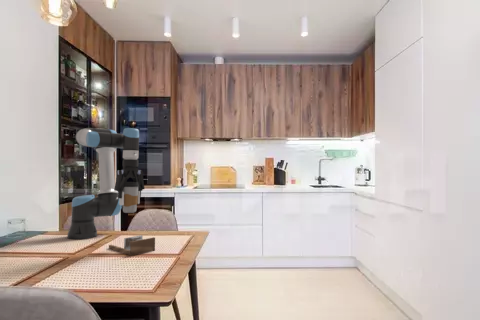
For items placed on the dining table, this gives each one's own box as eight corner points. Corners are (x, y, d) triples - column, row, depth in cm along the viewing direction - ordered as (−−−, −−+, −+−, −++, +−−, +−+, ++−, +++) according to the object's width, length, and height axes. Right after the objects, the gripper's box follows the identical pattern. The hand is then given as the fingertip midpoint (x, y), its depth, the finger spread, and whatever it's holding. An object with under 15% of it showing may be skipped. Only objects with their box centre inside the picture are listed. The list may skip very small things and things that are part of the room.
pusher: (123, 251, 151) (124, 238, 151) (141, 247, 158) (141, 235, 158) (128, 252, 148) (128, 239, 148) (145, 248, 155) (145, 236, 155)
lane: (108, 248, 156) (108, 235, 156) (131, 244, 166) (131, 232, 166) (131, 255, 144) (131, 242, 144) (154, 250, 153) (155, 237, 153)
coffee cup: (140, 211, 165) (141, 181, 165) (134, 213, 156) (135, 182, 157) (125, 210, 165) (125, 181, 166) (117, 212, 157) (118, 182, 157)
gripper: (115, 158, 151) (114, 206, 150) (152, 159, 168) (151, 203, 167) (106, 158, 155) (105, 205, 155) (143, 159, 172) (142, 202, 172)
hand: (129, 204), depth 161 cm, fingers closed on coffee cup, 8 cm apart
